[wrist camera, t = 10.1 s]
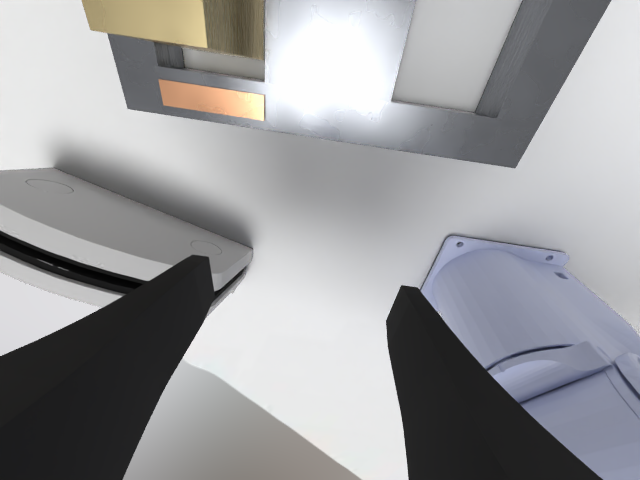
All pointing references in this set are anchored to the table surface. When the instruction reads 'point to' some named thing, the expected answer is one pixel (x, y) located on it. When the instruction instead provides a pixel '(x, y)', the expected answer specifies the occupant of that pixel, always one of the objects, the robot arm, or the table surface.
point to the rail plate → (367, 79)
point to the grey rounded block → (99, 239)
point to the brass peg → (184, 23)
